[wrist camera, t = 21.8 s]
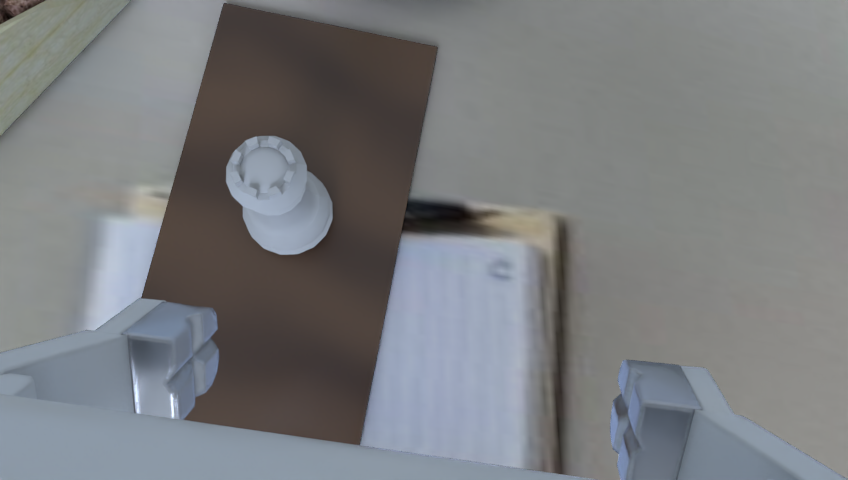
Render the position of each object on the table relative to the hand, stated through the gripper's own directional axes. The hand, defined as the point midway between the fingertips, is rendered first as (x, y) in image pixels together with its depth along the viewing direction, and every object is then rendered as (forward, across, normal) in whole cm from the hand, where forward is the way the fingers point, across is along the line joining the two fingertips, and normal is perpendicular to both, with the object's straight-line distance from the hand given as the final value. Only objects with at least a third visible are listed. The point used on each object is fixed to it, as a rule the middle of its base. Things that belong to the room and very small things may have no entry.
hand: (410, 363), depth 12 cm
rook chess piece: (+19, +9, +4) cm, 21 cm away
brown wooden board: (+19, +9, +4) cm, 22 cm away
